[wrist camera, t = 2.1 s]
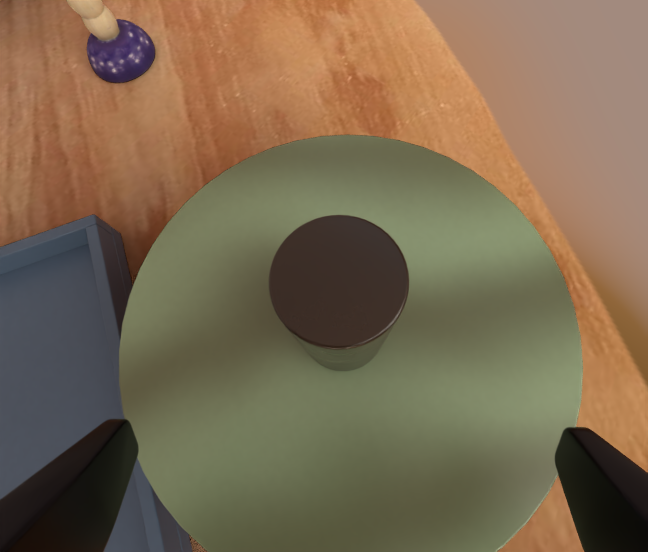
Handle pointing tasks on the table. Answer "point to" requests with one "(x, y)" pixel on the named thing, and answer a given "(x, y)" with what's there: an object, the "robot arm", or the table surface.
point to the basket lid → (350, 355)
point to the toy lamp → (114, 43)
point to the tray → (70, 365)
